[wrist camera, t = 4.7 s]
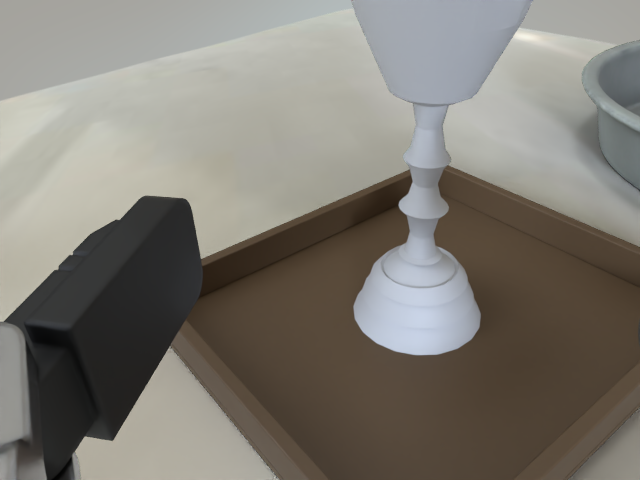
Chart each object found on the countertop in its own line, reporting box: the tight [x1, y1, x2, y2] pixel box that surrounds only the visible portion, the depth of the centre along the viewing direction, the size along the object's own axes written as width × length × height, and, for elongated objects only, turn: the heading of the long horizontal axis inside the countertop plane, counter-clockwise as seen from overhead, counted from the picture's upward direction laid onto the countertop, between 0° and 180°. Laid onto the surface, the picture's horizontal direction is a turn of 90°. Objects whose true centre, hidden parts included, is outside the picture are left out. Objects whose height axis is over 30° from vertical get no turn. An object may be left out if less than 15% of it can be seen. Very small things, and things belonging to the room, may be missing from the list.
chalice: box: [351, 0, 533, 355], centre depth 18 cm, size 7×7×18 cm
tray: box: [170, 165, 640, 480], centre depth 22 cm, size 17×15×2 cm
